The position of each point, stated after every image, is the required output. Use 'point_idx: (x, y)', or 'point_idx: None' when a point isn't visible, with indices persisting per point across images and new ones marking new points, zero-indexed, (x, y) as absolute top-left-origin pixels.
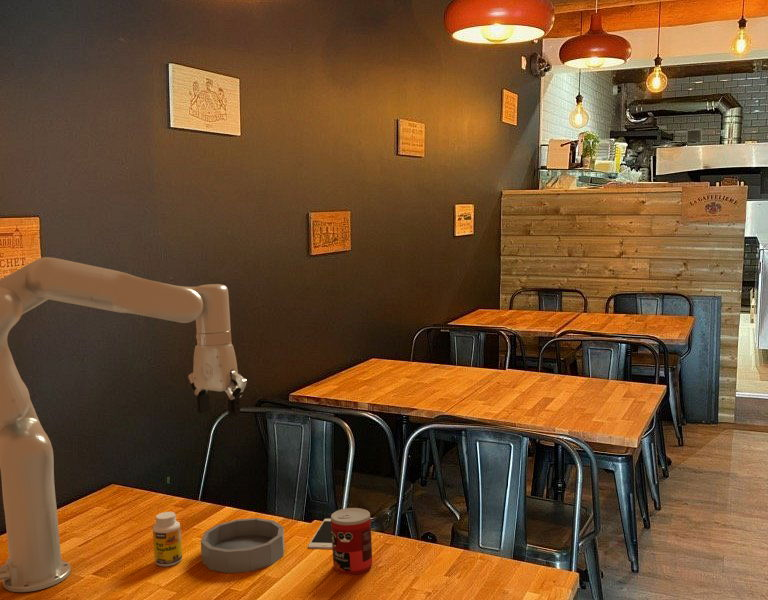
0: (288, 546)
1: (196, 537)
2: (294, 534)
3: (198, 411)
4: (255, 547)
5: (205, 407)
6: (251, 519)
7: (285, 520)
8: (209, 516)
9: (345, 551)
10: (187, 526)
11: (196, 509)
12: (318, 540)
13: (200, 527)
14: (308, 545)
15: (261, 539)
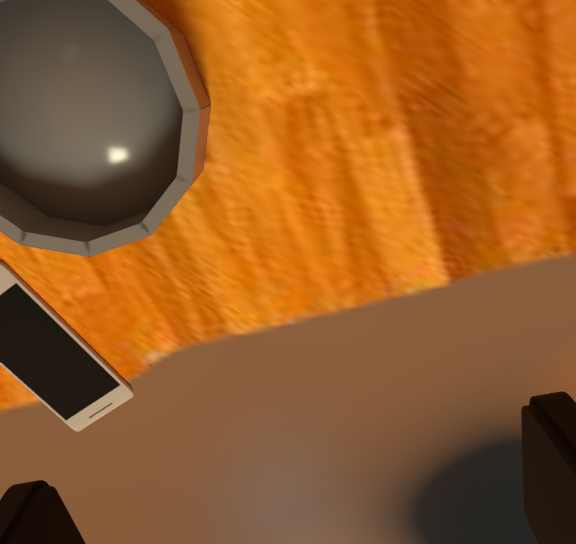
0: None
1: (318, 85)
2: (110, 291)
3: (557, 396)
4: None
5: (543, 502)
6: (153, 216)
7: (215, 332)
8: (430, 211)
9: None
10: (423, 117)
11: (517, 217)
12: (13, 302)
13: (378, 141)
14: (2, 266)
15: (111, 198)
